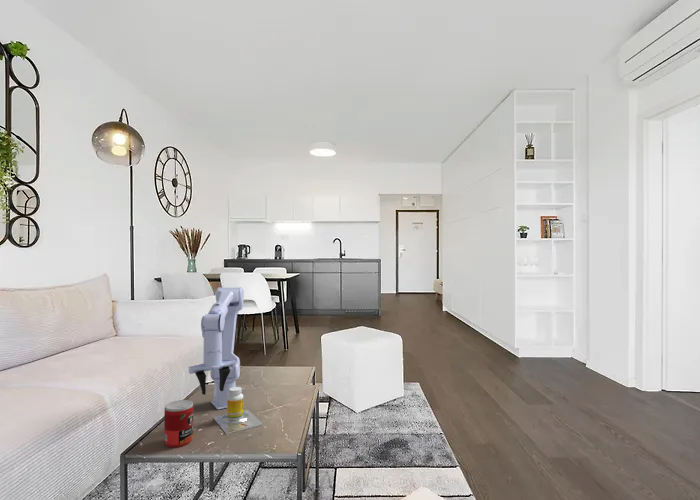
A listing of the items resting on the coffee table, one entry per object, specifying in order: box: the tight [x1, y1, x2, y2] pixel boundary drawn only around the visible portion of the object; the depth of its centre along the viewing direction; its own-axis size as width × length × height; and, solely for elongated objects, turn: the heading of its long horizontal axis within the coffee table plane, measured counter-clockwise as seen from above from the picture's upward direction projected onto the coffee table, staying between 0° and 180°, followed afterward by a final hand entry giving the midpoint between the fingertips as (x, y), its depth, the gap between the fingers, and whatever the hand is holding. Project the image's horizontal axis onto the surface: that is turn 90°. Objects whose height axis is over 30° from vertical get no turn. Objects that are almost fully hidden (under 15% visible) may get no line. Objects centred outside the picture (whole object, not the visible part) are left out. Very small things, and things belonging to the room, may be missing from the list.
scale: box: [212, 409, 264, 435], centre depth 128 cm, size 15×12×1 cm
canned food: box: [163, 399, 194, 448], centre depth 114 cm, size 8×8×11 cm
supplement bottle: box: [226, 386, 245, 420], centre depth 130 cm, size 6×5×10 cm
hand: (212, 392), depth 126 cm, fingers open, 5 cm apart
